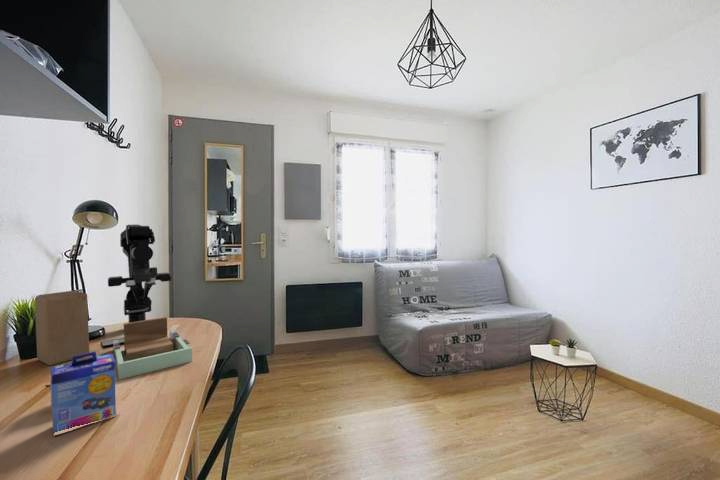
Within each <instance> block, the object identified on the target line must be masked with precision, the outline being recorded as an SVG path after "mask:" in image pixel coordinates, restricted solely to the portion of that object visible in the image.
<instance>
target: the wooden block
mask: <svg viewBox="0 0 720 480" xmlns="http://www.w3.org/2000/svg"><path fill="white" fill-rule="evenodd" d="M88 304H89V303H88V294H87V292H83V291H77V290H67V291H60V292H59V291H58V292H52V293H43V294H39V295H36V296H35V298H34V311H35V312H34V313H35V314H34V316H35V337H36V358H37V360H38V361H40V362H42V363H43V364H45V365H47V366H53V365H54V366H55V365H59V364H62V363H64V362H68V361H72V359H73V356H76V355H81V354H86V353H90V334H89V333H90V331H89V307H88V306H89V305H88Z"/></svg>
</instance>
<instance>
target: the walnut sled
mask: <svg viewBox="0 0 720 480" xmlns="http://www.w3.org/2000/svg"><path fill="white" fill-rule="evenodd" d="M123 339H124V340H123V341H124V343H123V345H124V346H123V348H124V354H125V357H126V361H130V360H134V359H139V358H143V357H148V356H153V355H157V354H162V353H166V352H171V351H174V343H173V342H172V341H171V339H170V337H168V318H167V316H163V317H156V318H151V319H146V320H143V321H137V322H130V323H129V322H125V323H123Z"/></svg>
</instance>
